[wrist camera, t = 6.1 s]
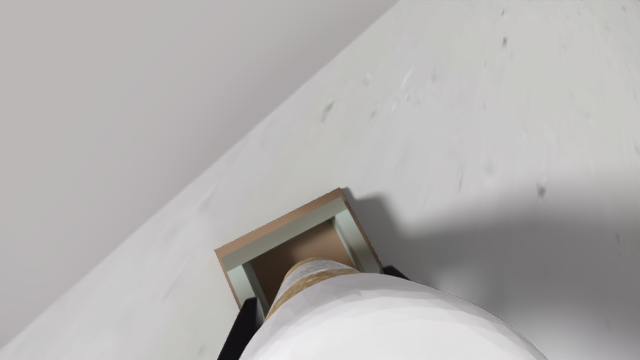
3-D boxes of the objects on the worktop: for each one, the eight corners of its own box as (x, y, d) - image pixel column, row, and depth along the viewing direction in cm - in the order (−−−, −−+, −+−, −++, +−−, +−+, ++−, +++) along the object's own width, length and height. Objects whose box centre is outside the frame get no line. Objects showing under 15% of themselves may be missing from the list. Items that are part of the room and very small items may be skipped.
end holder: (403, 310, 20) (427, 324, 17) (277, 391, 18) (272, 428, 14) (338, 189, 22) (346, 178, 19) (217, 250, 20) (199, 251, 16)
